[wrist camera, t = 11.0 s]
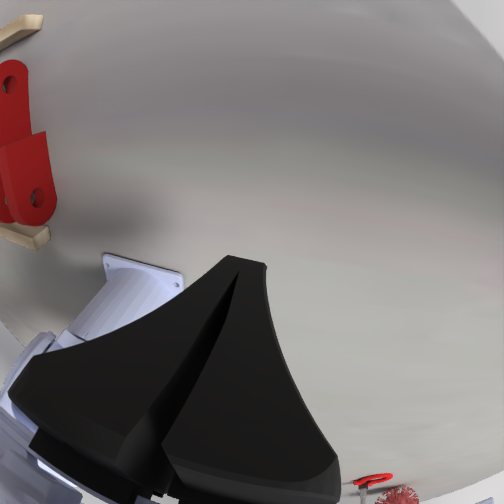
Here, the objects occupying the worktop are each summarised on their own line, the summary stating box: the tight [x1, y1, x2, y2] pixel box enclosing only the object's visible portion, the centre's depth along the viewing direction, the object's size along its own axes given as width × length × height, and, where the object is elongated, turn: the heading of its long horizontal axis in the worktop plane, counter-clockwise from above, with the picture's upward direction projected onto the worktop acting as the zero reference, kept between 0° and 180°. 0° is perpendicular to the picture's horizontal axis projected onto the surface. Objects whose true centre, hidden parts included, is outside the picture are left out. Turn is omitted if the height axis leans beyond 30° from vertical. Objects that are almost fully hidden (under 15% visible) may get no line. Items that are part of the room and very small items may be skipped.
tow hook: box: [353, 473, 393, 504], centre depth 42 cm, size 8×13×9 cm
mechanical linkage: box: [0, 60, 57, 227], centre depth 17 cm, size 16×7×5 cm, turn 179°
